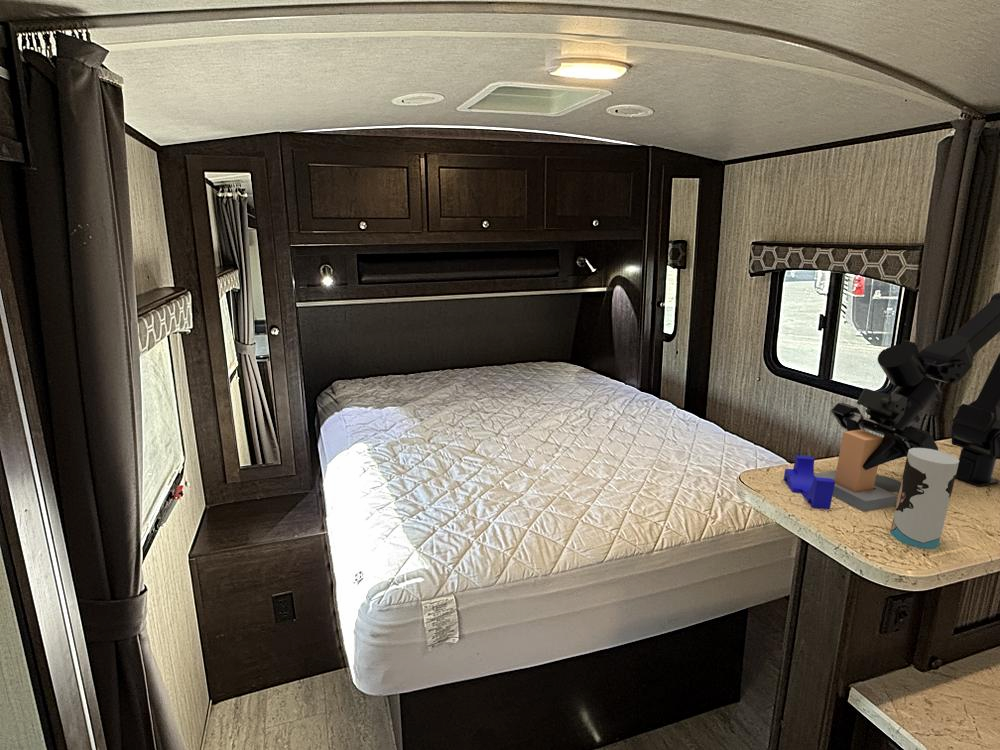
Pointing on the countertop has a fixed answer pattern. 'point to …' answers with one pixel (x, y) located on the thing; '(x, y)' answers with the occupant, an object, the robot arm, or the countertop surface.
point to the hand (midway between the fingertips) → (852, 463)
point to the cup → (924, 497)
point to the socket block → (861, 495)
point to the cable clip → (809, 483)
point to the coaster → (887, 483)
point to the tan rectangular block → (856, 460)
